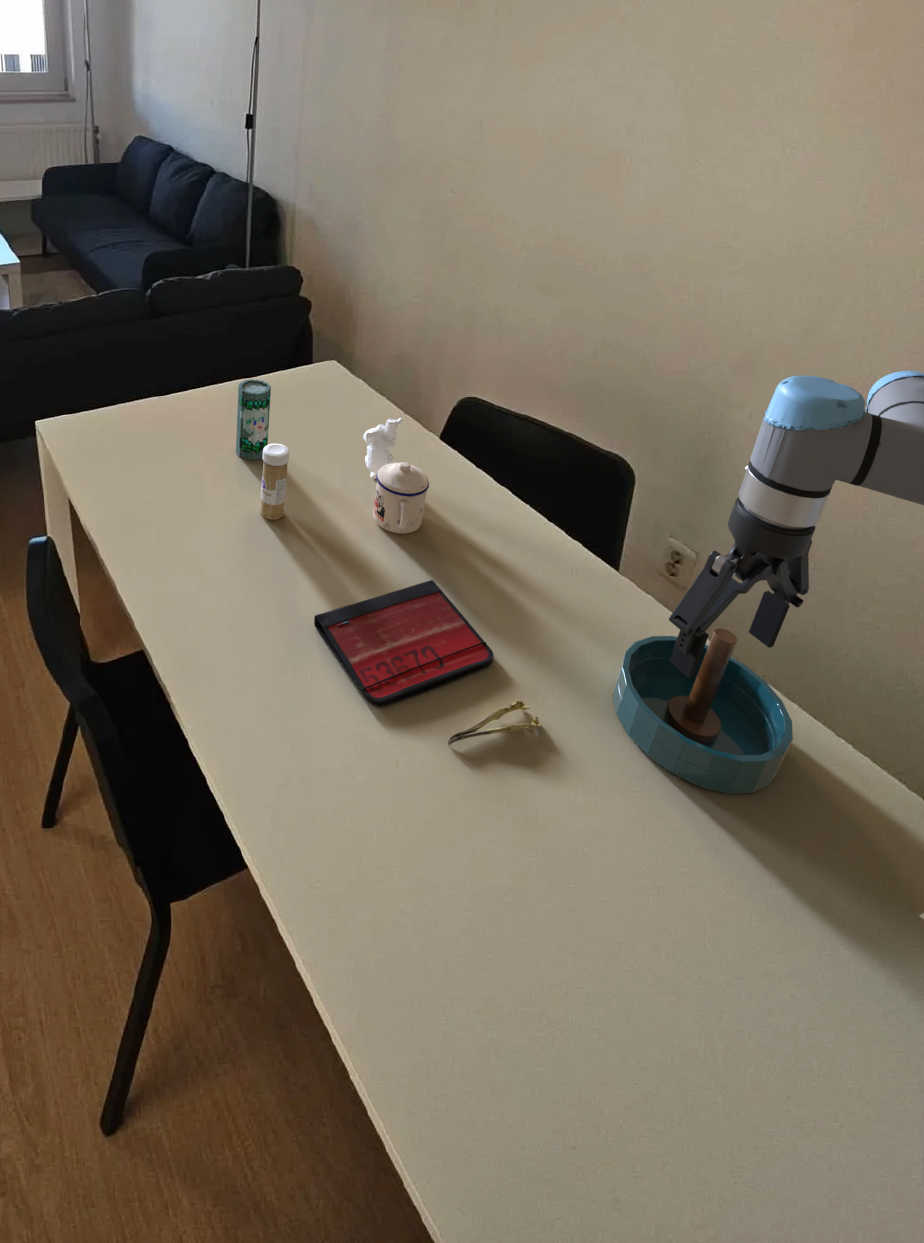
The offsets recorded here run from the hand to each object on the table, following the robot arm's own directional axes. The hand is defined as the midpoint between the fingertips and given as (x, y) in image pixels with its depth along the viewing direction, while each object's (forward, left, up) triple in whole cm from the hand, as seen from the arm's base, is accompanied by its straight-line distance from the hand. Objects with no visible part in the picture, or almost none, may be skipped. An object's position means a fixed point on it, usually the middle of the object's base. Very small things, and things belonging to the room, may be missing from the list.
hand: (722, 654), depth 91 cm
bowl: (0, 0, -13) cm, 13 cm away
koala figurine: (+63, +9, -13) cm, 65 cm away
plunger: (0, 0, -12) cm, 12 cm away
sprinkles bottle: (+58, +34, -13) cm, 69 cm away
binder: (+24, +28, -13) cm, 39 cm away
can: (+78, +30, -13) cm, 85 cm away
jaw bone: (+8, +25, -13) cm, 29 cm away
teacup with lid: (+48, +14, -13) cm, 52 cm away
